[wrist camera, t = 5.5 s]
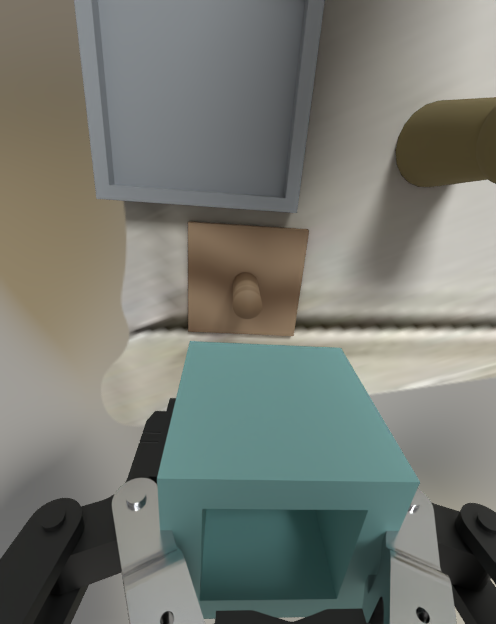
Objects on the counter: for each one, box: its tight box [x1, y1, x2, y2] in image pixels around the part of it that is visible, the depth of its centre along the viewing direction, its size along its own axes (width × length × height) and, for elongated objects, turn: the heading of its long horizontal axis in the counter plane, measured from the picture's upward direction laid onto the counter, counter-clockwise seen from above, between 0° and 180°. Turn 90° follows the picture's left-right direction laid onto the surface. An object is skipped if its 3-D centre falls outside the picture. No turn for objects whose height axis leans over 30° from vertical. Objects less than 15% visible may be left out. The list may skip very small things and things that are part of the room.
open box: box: [157, 341, 420, 619], centre depth 12 cm, size 8×6×6 cm
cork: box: [396, 97, 496, 187], centre depth 20 cm, size 6×6×11 cm
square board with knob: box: [188, 221, 309, 336], centre depth 27 cm, size 10×10×6 cm
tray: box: [74, 0, 325, 213], centre depth 22 cm, size 15×15×2 cm
